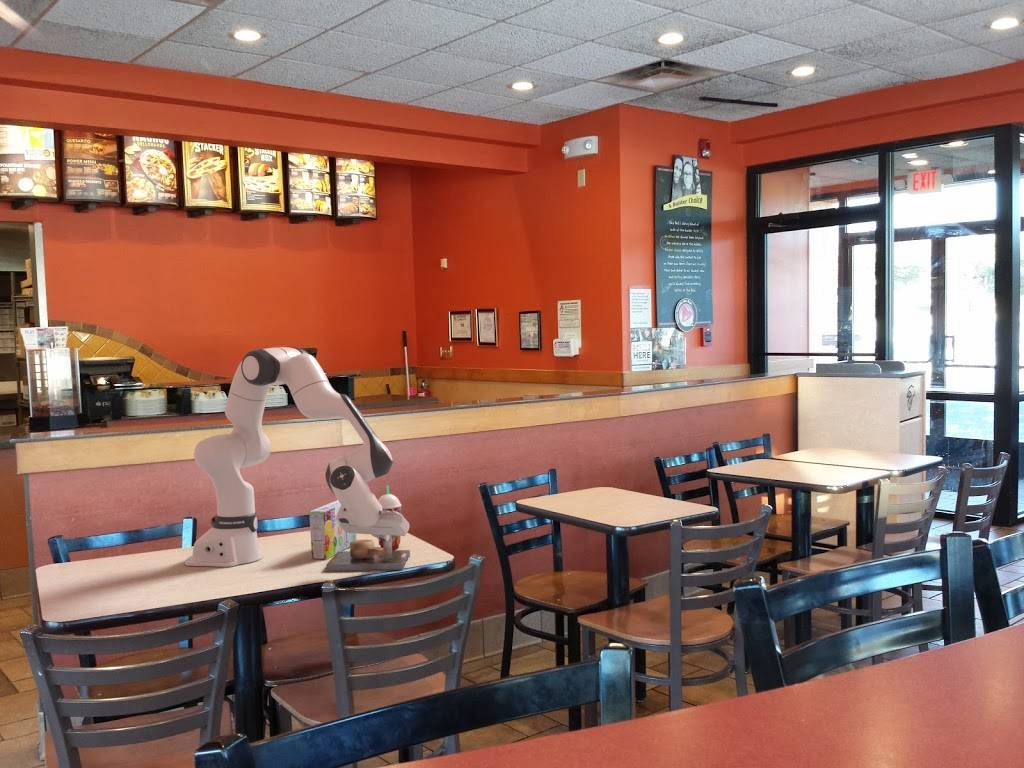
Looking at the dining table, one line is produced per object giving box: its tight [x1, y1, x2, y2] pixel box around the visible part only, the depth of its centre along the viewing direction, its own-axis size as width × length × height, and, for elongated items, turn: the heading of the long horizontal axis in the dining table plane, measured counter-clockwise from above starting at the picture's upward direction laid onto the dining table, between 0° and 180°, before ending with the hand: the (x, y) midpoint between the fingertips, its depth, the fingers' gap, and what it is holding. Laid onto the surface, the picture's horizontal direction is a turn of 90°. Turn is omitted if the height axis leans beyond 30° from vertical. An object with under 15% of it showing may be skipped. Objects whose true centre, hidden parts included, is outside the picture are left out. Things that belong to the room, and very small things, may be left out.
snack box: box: [308, 499, 357, 560], centre depth 285 cm, size 21×6×15 cm, turn 164°
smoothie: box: [377, 485, 402, 550], centre depth 287 cm, size 8×8×20 cm
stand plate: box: [325, 549, 411, 573], centre depth 268 cm, size 22×16×2 cm
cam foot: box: [349, 535, 392, 559], centre depth 265 cm, size 15×7×12 cm, turn 57°
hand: (384, 539), depth 260 cm, fingers closed, pressing on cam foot
